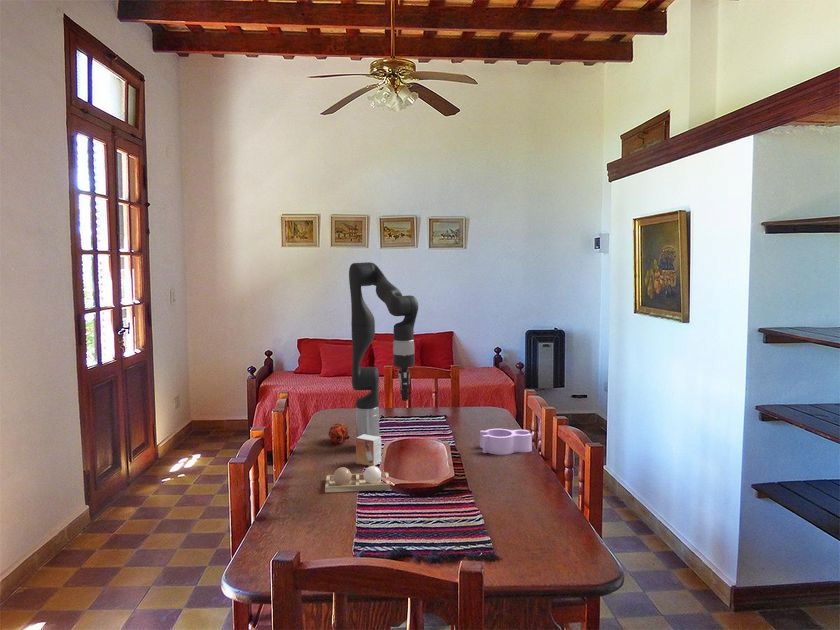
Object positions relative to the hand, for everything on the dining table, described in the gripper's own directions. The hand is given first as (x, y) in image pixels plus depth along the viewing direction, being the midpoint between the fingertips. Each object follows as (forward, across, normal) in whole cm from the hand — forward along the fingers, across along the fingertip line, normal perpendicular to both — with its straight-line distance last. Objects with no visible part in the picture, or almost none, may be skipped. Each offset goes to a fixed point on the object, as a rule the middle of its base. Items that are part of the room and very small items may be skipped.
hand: (404, 397), depth 200 cm
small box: (+28, -9, -13) cm, 32 cm away
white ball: (+26, +12, -12) cm, 31 cm away
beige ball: (+26, +12, -22) cm, 36 cm away
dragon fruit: (+28, -37, -26) cm, 53 cm away
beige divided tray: (+27, +12, -17) cm, 34 cm away
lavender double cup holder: (+28, -20, +42) cm, 54 cm away
